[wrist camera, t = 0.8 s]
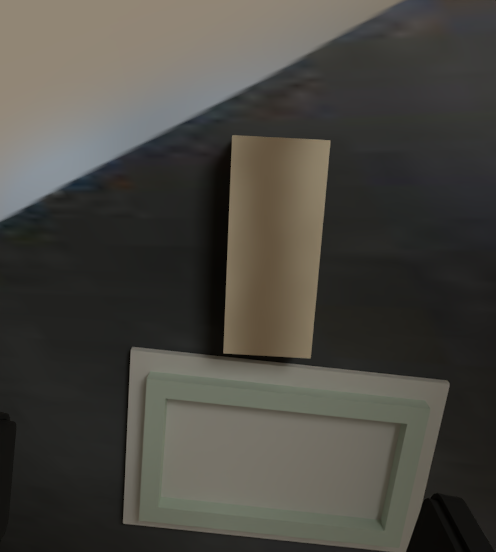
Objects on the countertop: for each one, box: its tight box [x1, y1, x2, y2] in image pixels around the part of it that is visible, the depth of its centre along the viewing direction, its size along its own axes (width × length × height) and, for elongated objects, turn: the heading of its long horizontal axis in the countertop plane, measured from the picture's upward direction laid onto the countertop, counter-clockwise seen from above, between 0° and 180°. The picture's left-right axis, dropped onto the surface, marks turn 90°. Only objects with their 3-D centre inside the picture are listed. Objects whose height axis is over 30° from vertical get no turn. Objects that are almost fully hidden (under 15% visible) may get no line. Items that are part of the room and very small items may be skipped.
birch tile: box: [223, 135, 330, 358], centre depth 27 cm, size 5×12×3 cm, turn 177°
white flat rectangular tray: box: [123, 347, 450, 552], centre depth 31 cm, size 20×13×2 cm, turn 84°
